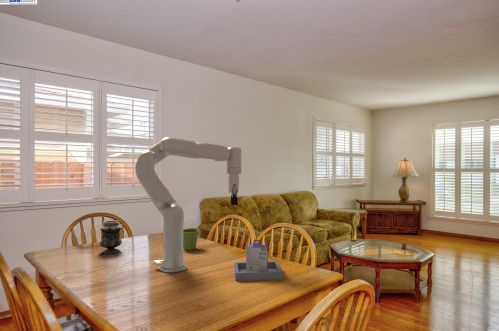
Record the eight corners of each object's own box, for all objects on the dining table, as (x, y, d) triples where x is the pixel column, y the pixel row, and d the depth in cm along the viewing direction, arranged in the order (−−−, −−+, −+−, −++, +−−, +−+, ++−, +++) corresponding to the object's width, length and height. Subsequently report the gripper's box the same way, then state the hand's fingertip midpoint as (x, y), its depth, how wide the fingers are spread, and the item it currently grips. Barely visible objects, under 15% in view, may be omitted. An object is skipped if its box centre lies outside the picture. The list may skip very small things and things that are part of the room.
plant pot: (189, 245, 209) (189, 227, 209) (203, 248, 202) (203, 229, 202) (175, 249, 200) (175, 230, 200) (189, 252, 193) (189, 233, 193)
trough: (235, 281, 145) (235, 273, 145) (234, 269, 161) (234, 262, 161) (283, 279, 147) (283, 271, 147) (277, 268, 163) (277, 261, 163)
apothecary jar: (126, 251, 196) (126, 220, 196) (108, 256, 186) (108, 223, 186) (113, 248, 203) (113, 218, 203) (95, 253, 193) (95, 221, 193)
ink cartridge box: (268, 270, 157) (268, 239, 157) (267, 274, 151) (267, 242, 151) (247, 269, 158) (247, 239, 158) (245, 273, 152) (245, 241, 152)
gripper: (226, 170, 182) (226, 202, 182) (227, 171, 164) (227, 206, 164) (240, 170, 182) (240, 202, 182) (242, 171, 165) (242, 206, 165)
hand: (234, 204), depth 173 cm, fingers open, 9 cm apart
